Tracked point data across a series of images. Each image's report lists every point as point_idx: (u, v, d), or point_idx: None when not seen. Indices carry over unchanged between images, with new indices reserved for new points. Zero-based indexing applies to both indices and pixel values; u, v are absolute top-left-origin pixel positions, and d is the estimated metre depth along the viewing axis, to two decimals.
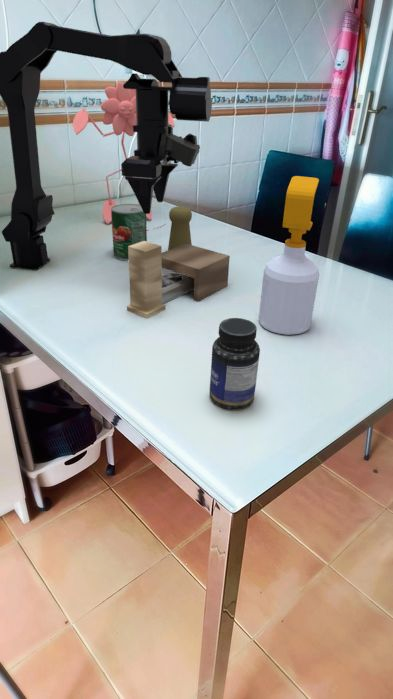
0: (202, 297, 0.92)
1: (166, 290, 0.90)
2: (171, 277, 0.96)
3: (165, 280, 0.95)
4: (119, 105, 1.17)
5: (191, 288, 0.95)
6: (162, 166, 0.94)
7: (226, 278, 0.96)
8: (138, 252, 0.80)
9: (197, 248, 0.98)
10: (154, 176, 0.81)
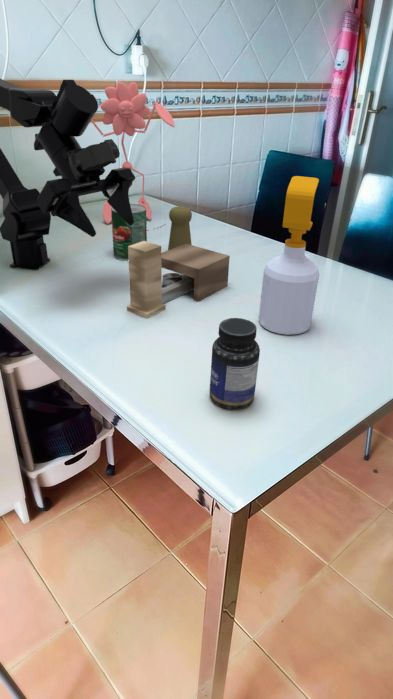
0: (202, 297, 0.92)
1: (166, 290, 0.90)
2: (171, 277, 0.96)
3: (165, 280, 0.95)
4: (119, 105, 1.17)
5: (191, 288, 0.95)
6: (115, 191, 0.87)
7: (226, 278, 0.96)
8: (138, 252, 0.80)
9: (197, 248, 0.98)
10: (55, 191, 0.76)
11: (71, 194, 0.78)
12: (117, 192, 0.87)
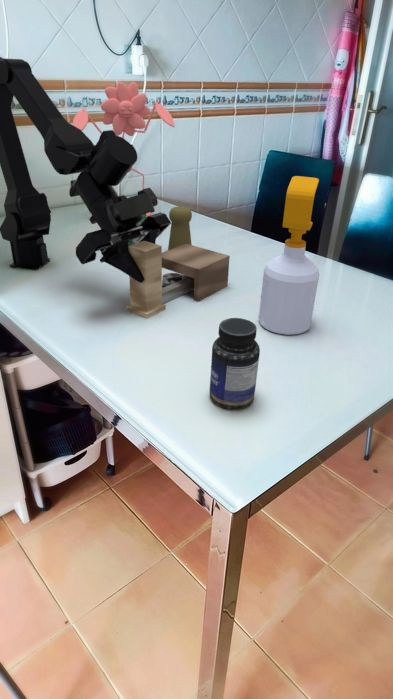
0: (202, 297, 0.92)
1: (166, 290, 0.89)
2: (171, 277, 0.96)
3: (165, 280, 0.95)
4: (119, 105, 1.17)
5: (191, 288, 0.95)
6: (142, 240, 0.85)
7: (226, 278, 0.96)
8: (138, 252, 0.80)
9: (197, 248, 0.98)
10: (95, 244, 0.75)
11: (121, 242, 0.78)
12: None
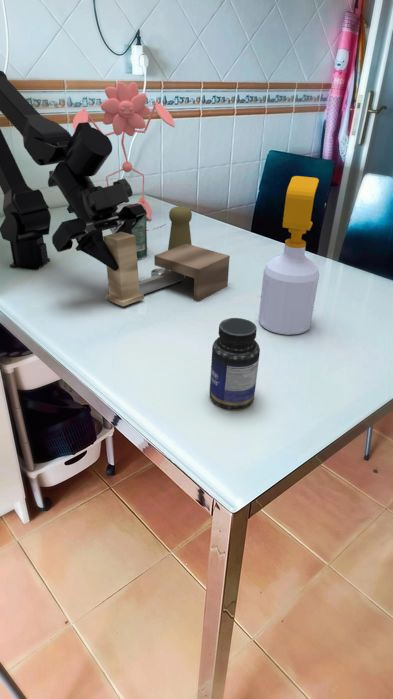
0: (202, 297, 0.92)
1: (146, 281, 0.92)
2: (159, 272, 0.98)
3: (153, 275, 0.97)
4: (119, 105, 1.17)
5: (175, 280, 0.97)
6: (118, 229, 0.88)
7: (226, 278, 0.96)
8: (111, 241, 0.83)
9: (197, 248, 0.98)
10: (70, 232, 0.78)
11: (96, 231, 0.81)
12: (120, 231, 0.87)
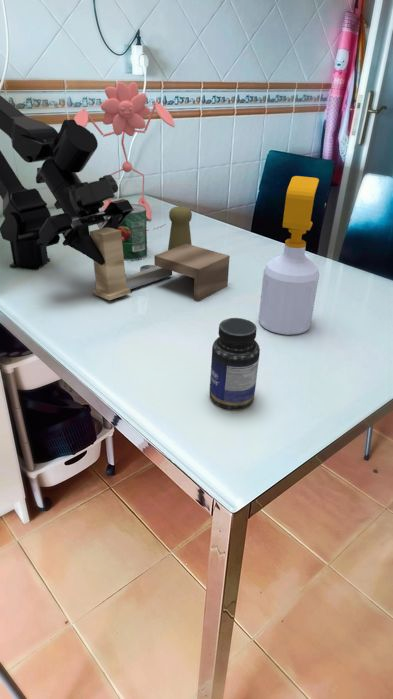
0: (202, 297, 0.92)
1: (133, 276, 0.93)
2: None
3: None
4: (119, 105, 1.17)
5: (162, 276, 0.98)
6: (105, 225, 0.89)
7: (226, 278, 0.96)
8: (97, 236, 0.85)
9: (197, 248, 0.98)
10: (56, 227, 0.79)
11: (82, 226, 0.83)
12: (107, 226, 0.89)
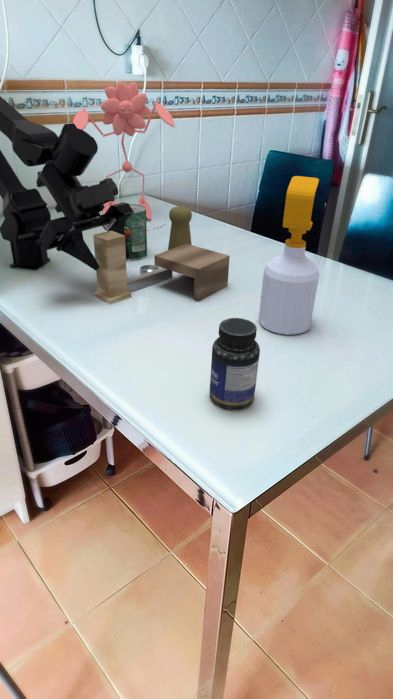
0: (202, 297, 0.92)
1: (134, 279, 0.94)
2: (148, 269, 1.00)
3: (142, 271, 0.99)
4: (119, 105, 1.17)
5: (163, 279, 0.99)
6: (112, 226, 0.91)
7: (226, 278, 0.96)
8: (101, 240, 0.84)
9: (197, 248, 0.98)
10: (57, 230, 0.80)
11: (75, 231, 0.82)
12: (113, 227, 0.90)
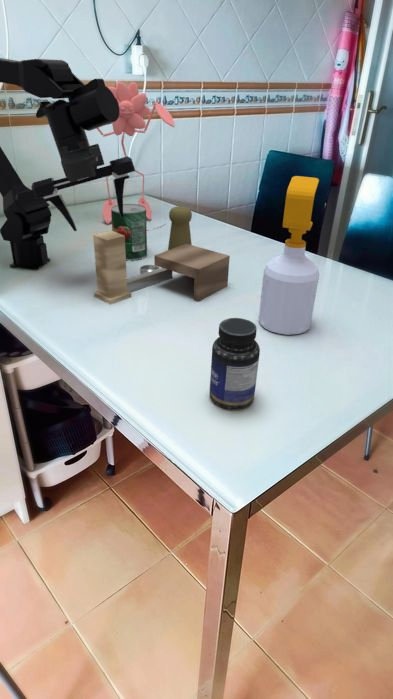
0: (202, 297, 0.92)
1: (134, 279, 0.94)
2: (148, 269, 1.00)
3: (142, 271, 0.99)
4: (119, 105, 1.17)
5: (163, 279, 0.99)
6: None
7: (226, 278, 0.96)
8: (101, 240, 0.84)
9: (197, 248, 0.98)
10: (36, 197, 0.85)
11: (52, 198, 0.86)
12: (114, 183, 0.89)
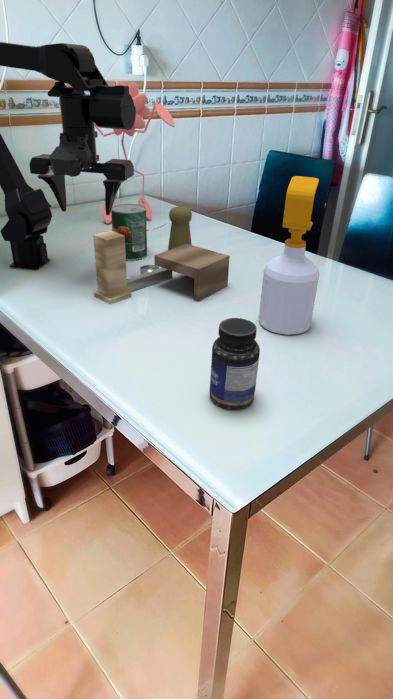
0: (202, 297, 0.92)
1: (134, 279, 0.94)
2: (148, 269, 1.00)
3: (142, 271, 0.99)
4: None
5: (163, 279, 0.99)
6: None
7: (226, 278, 0.96)
8: (101, 240, 0.84)
9: (197, 248, 0.98)
10: (30, 172, 0.89)
11: (44, 178, 0.89)
12: None
